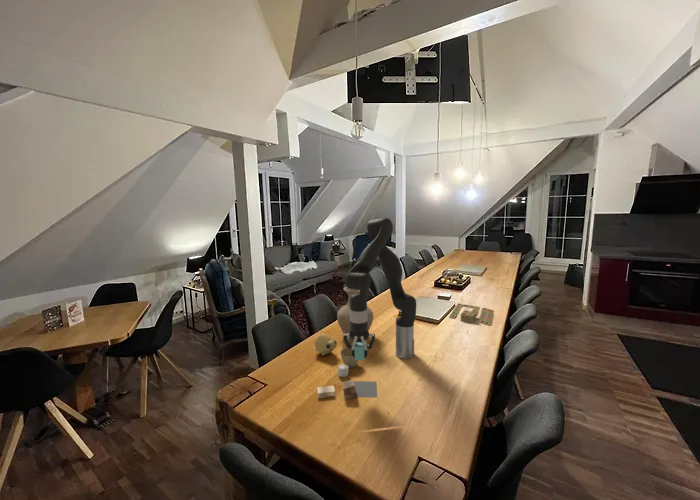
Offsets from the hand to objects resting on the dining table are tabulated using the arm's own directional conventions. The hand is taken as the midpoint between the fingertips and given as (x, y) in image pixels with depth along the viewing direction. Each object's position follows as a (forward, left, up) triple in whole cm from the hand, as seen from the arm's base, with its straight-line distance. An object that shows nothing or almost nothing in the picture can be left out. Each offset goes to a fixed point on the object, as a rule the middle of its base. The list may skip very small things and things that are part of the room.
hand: (359, 356), depth 128 cm
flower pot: (+5, -19, -15) cm, 25 cm away
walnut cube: (+4, +5, -14) cm, 16 cm away
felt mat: (-2, +1, -15) cm, 15 cm away
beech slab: (+14, +5, -15) cm, 21 cm away
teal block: (0, 0, 0) cm, 0 cm away
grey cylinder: (+8, -10, -15) cm, 20 cm away
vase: (+4, -52, -15) cm, 54 cm away
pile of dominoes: (-78, -89, -16) cm, 120 cm away
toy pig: (+19, -30, -15) cm, 39 cm away
